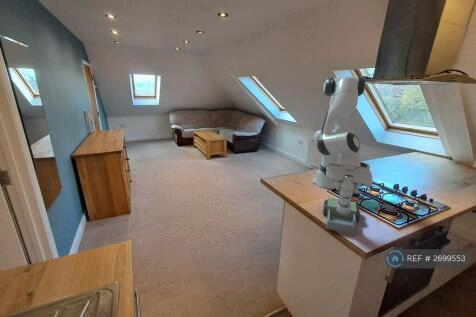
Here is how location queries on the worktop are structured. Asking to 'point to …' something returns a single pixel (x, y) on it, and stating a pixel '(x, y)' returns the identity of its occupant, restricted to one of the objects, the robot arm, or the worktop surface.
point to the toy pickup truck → (341, 217)
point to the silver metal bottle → (345, 195)
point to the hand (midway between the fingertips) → (346, 191)
